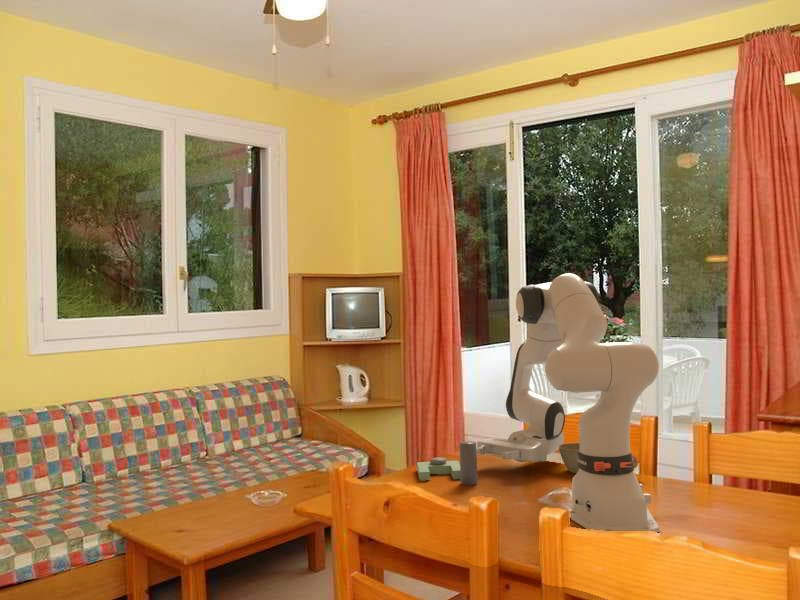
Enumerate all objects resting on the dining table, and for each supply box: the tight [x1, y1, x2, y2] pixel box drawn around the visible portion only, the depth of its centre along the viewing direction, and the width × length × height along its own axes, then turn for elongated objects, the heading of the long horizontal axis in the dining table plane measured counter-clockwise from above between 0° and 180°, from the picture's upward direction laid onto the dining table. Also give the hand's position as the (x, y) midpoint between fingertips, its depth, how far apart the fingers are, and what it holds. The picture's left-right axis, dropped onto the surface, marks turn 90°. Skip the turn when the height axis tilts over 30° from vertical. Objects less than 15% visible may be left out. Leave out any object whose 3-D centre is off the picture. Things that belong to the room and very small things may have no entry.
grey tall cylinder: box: [459, 440, 479, 487], centre depth 195 cm, size 4×4×11 cm
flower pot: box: [558, 442, 580, 474], centre depth 204 cm, size 10×10×7 cm
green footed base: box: [416, 456, 461, 482], centre depth 205 cm, size 12×12×4 cm
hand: (491, 454), depth 201 cm, fingers open, 8 cm apart
